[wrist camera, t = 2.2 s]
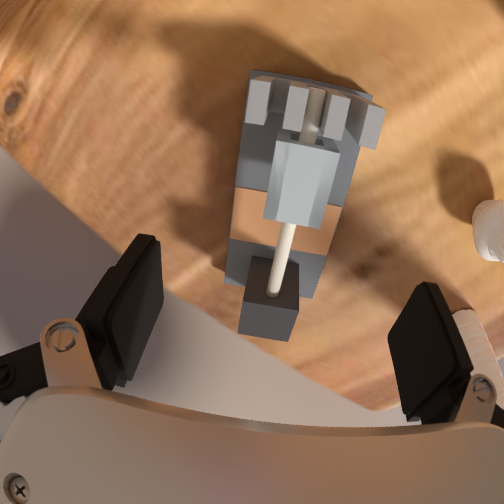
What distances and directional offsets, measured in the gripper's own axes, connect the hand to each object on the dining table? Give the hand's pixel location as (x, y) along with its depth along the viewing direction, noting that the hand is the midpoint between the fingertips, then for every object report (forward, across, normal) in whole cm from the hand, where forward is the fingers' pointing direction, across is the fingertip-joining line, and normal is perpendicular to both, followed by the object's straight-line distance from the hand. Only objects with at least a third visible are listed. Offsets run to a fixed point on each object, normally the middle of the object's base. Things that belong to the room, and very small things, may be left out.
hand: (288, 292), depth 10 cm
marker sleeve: (+12, -1, 0) cm, 12 cm away
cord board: (+16, -1, +4) cm, 17 cm away
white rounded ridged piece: (+16, -21, 0) cm, 26 cm away
